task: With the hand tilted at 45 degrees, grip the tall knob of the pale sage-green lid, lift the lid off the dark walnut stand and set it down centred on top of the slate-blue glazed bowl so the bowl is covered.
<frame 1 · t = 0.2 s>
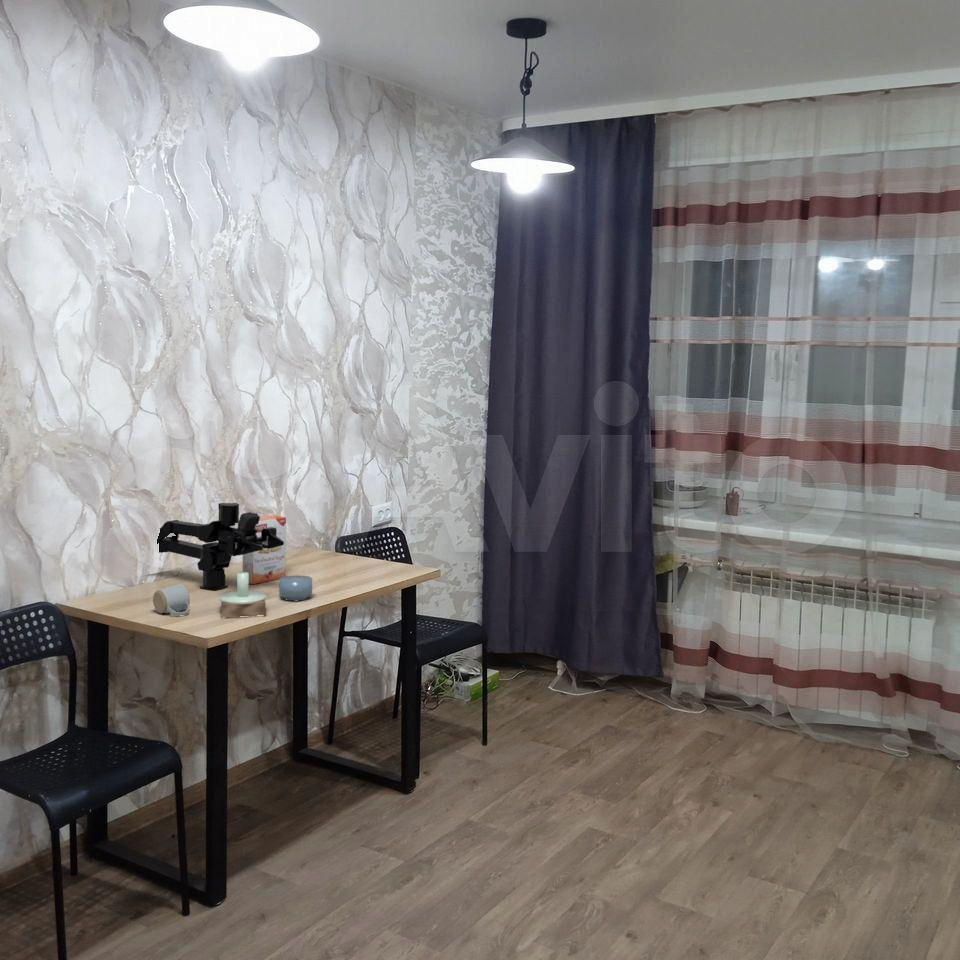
hand: (273, 545, 297), 17 cm above the table, tool horizontal, fingers open, 9 cm apart
glazed bowl: (295, 598, 301), on the table
cracker box: (264, 580, 324), on the table
walnut stand: (243, 612, 284), on the table
lid: (243, 598, 283), point 4 cm above the table, touching walnut stand
ceramic mug: (174, 613, 282), on the table
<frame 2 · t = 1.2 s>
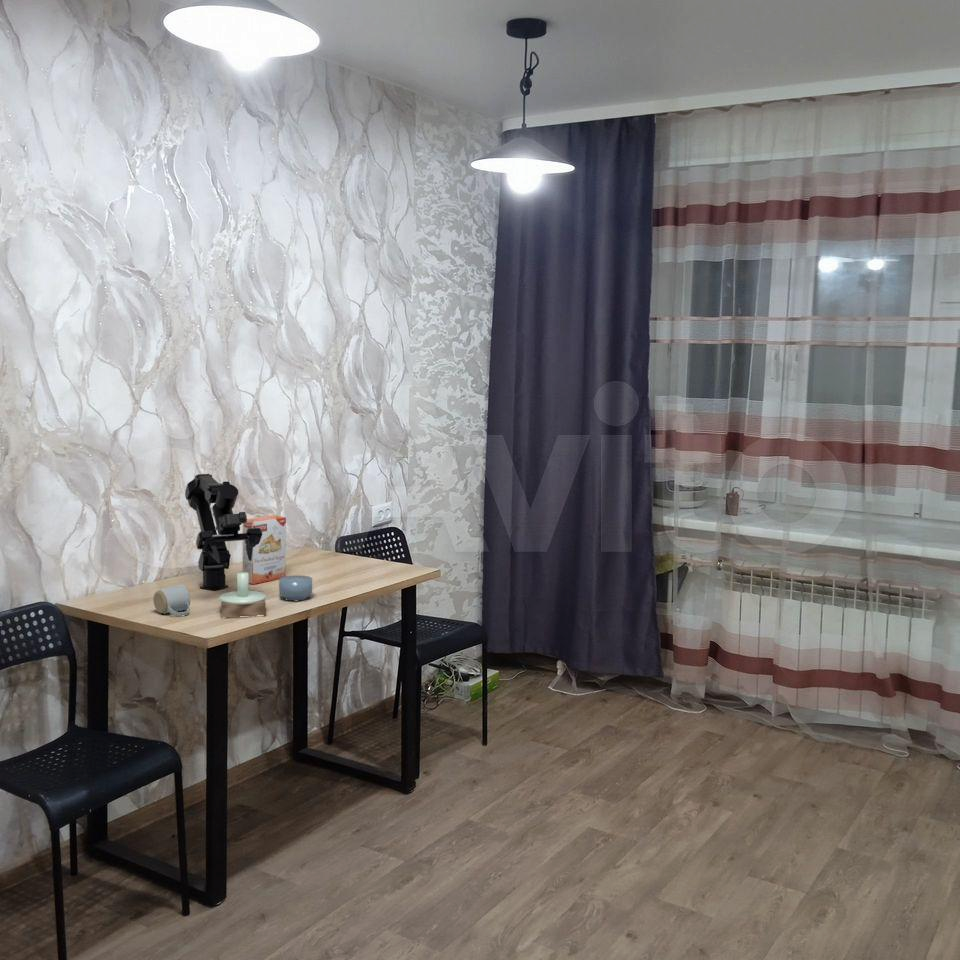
hand: (235, 561, 289), 13 cm above the table, tool tilted 45°, fingers open, 9 cm apart
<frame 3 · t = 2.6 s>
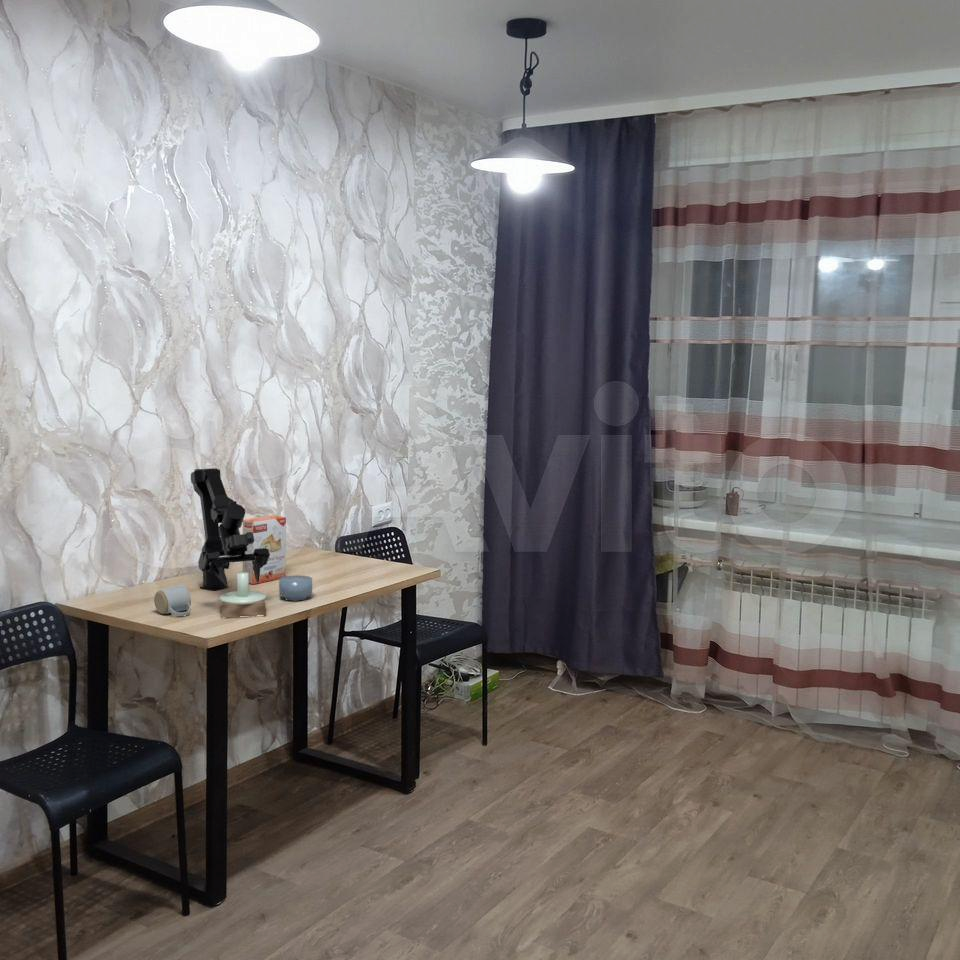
hand: (242, 583, 283), 8 cm above the table, tool tilted 45°, fingers open, 9 cm apart
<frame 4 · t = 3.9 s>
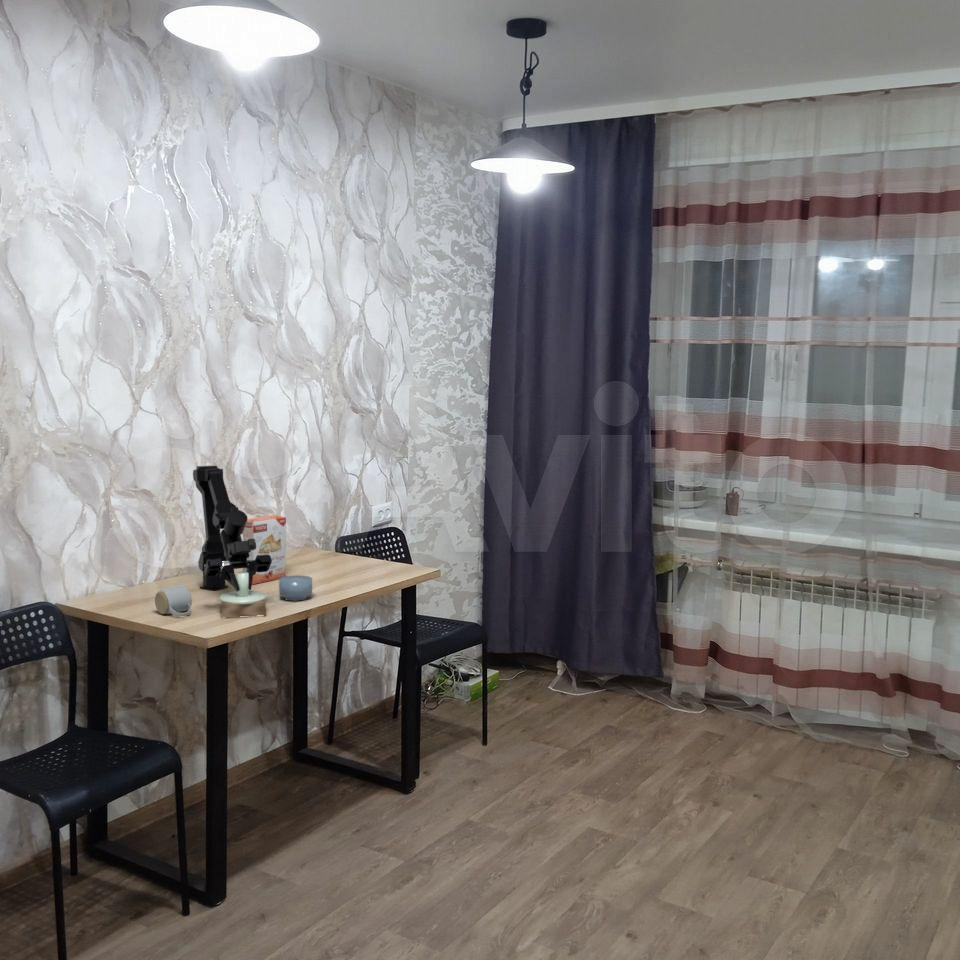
hand: (244, 589, 282), 7 cm above the table, tool tilted 45°, fingers closed on lid, 3 cm apart
lid: (243, 598, 283), point 4 cm above the table, touching gripper, walnut stand
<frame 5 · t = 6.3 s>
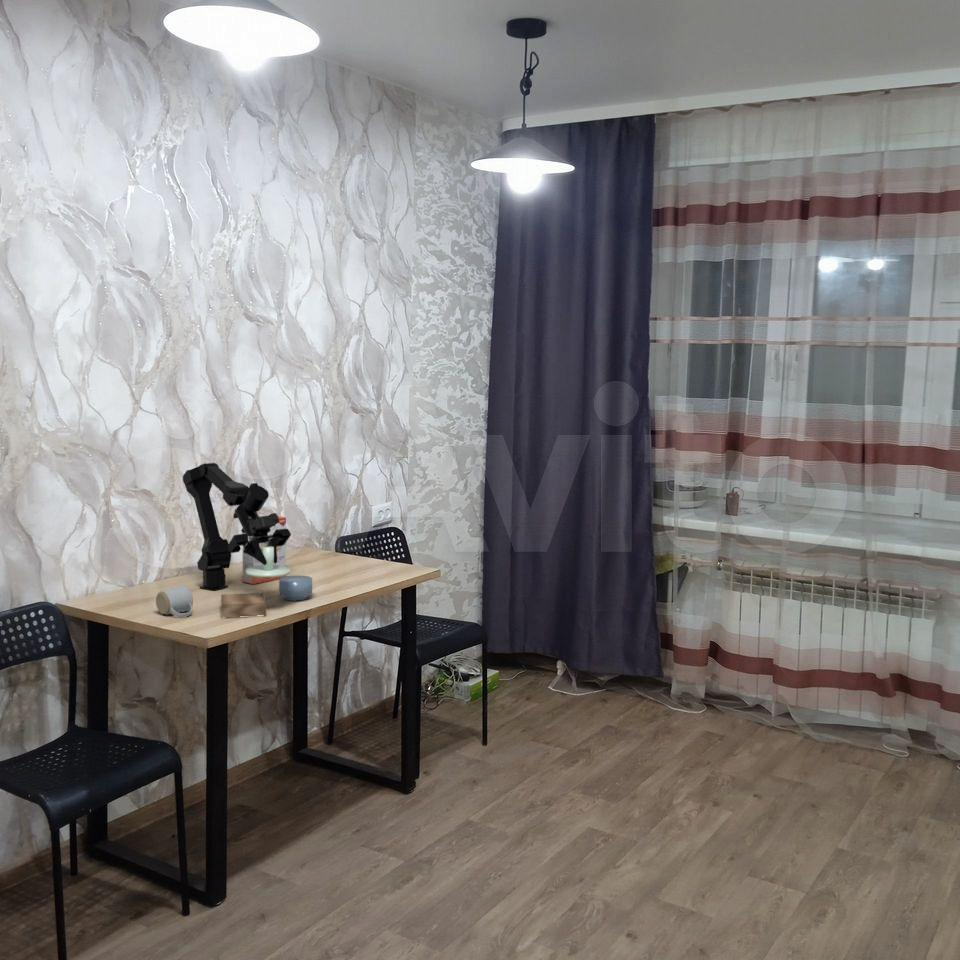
hand: (271, 563, 287), 13 cm above the table, tool tilted 45°, fingers closed on lid, 3 cm apart
lid: (268, 572, 288), point 11 cm above the table, touching gripper
when the fingers open (10 cm above the table, at t = 8.5 s): lid stays where it is, resting on glazed bowl.
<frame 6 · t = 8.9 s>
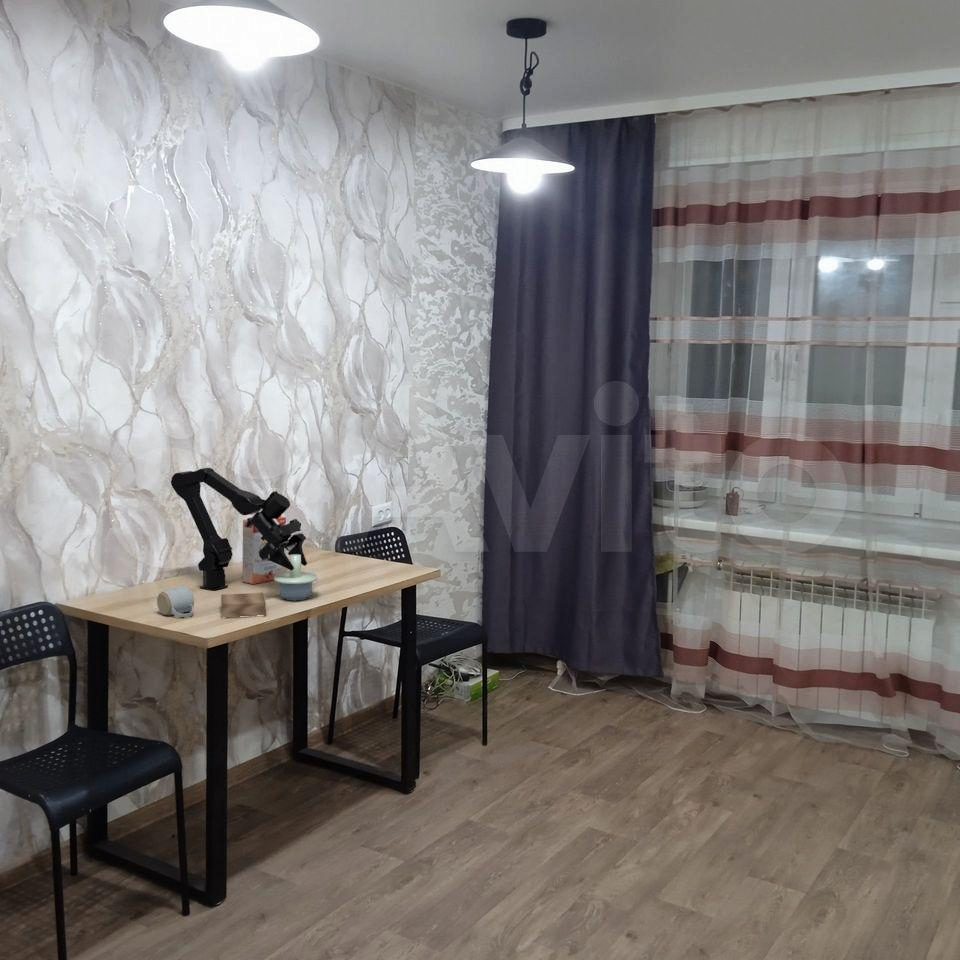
hand: (299, 567, 299), 10 cm above the table, tool tilted 45°, fingers open, 7 cm apart
lid: (295, 579, 300), point 6 cm above the table, touching glazed bowl
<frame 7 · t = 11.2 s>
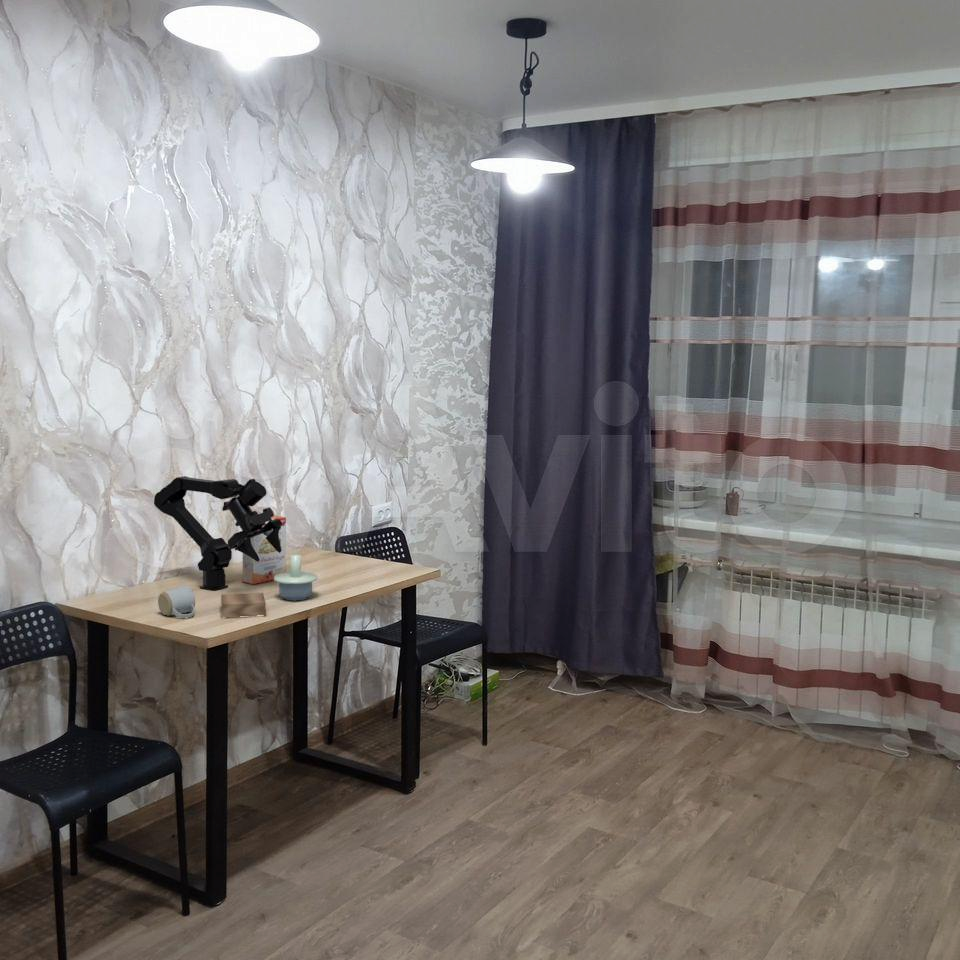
hand: (269, 556, 301), 13 cm above the table, tool tilted 40°, fingers open, 9 cm apart
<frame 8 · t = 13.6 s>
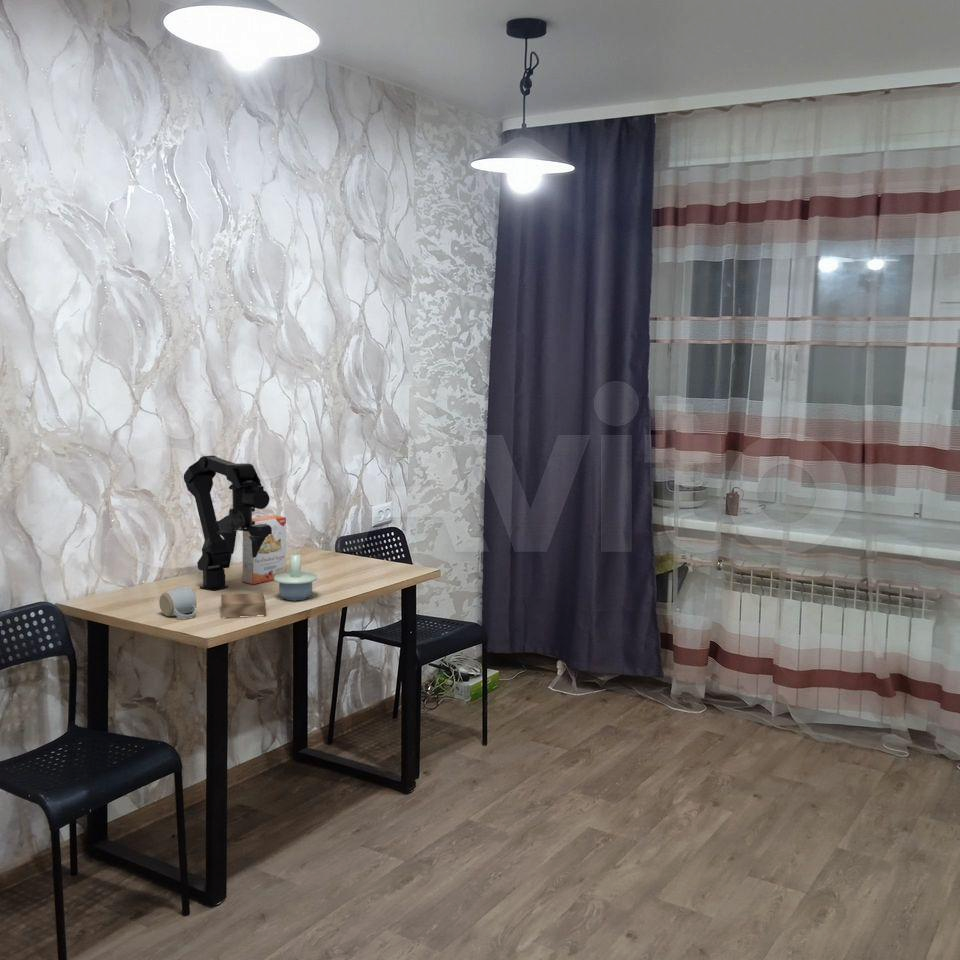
hand: (242, 555, 299), 13 cm above the table, tool pointing down, fingers open, 9 cm apart
at the end: lid 0.0 cm off-centre on the glazed bowl, point 6.0 cm above the glazed bowl's base; lid tilted 0°; the gripper is holding nothing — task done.
